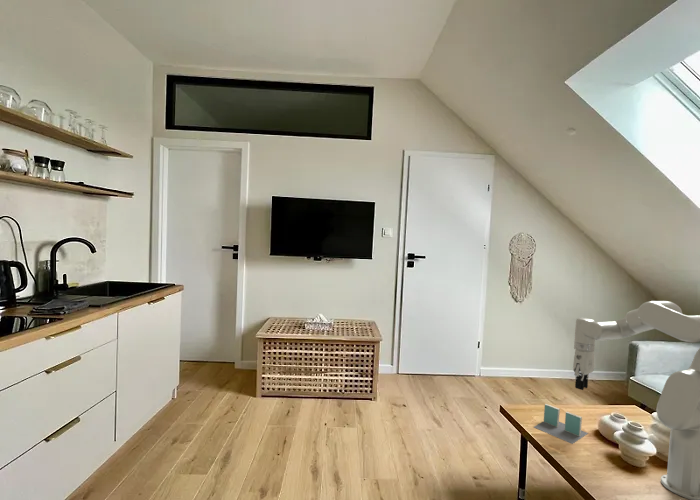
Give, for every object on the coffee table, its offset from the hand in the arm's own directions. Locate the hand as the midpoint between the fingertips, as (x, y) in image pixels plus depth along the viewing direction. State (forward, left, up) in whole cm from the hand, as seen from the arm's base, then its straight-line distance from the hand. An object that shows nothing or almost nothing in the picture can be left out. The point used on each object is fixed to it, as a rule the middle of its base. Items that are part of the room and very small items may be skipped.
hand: (581, 387), depth 165 cm
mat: (+4, +8, -19) cm, 21 cm away
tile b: (+9, +6, -19) cm, 22 cm away
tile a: (0, +6, -19) cm, 20 cm away
